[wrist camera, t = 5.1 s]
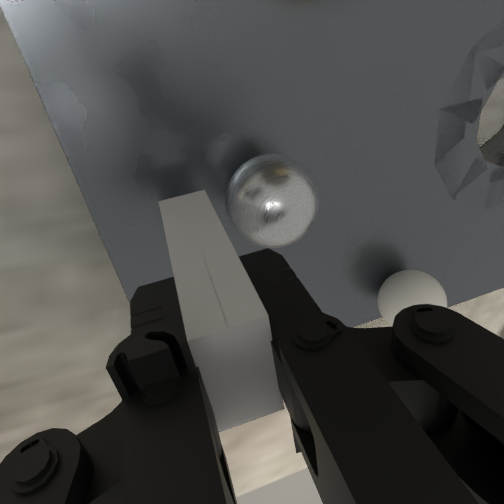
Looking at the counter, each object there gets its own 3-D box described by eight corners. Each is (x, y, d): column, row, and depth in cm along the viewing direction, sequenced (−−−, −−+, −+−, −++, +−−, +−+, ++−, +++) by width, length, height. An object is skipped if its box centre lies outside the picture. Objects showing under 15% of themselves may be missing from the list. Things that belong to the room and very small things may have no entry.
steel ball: (207, 155, 13) (229, 186, 11) (293, 133, 14) (333, 158, 11) (225, 233, 15) (248, 277, 12) (301, 212, 16) (337, 249, 13)
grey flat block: (168, 367, 21) (173, 404, 19) (-38, -134, 10) (-78, -174, 8) (533, 244, 25) (570, 263, 23) (661, -216, 14) (754, -258, 12)
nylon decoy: (365, 268, 18) (404, 306, 16) (421, 250, 19) (467, 284, 16) (365, 315, 20) (400, 357, 17) (416, 298, 20) (457, 335, 18)
